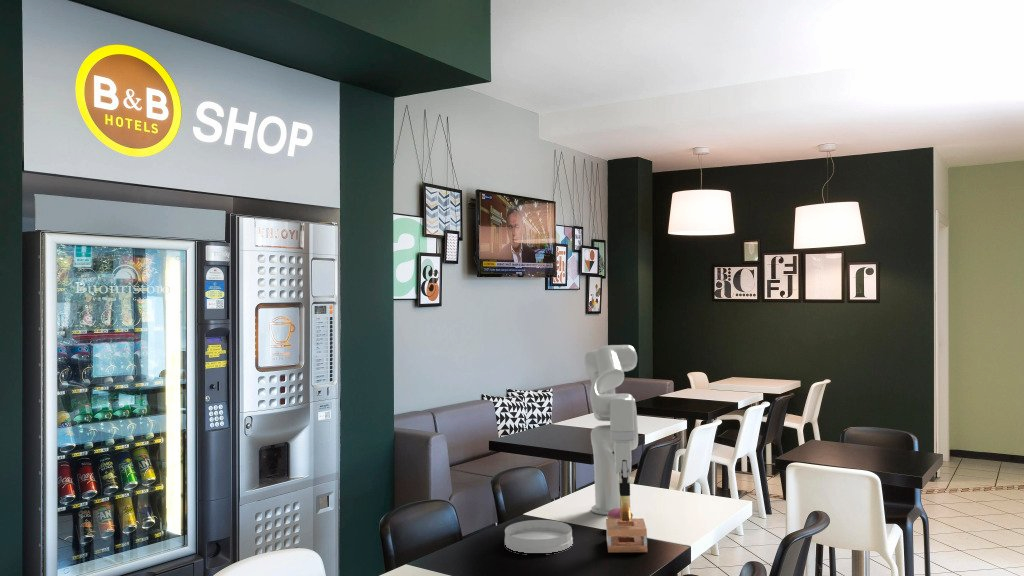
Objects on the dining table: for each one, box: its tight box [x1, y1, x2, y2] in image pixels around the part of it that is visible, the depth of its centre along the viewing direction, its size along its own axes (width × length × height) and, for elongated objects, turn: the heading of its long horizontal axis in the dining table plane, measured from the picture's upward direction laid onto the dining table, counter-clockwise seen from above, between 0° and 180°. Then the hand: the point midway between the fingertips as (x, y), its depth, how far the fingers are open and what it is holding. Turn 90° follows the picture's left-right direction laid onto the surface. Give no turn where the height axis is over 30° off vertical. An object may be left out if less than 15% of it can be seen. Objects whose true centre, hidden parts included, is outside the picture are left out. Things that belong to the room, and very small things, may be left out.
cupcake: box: [606, 508, 634, 519], centre depth 260 cm, size 9×8×12 cm
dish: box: [504, 519, 574, 553], centre depth 247 cm, size 22×22×5 cm
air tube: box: [619, 471, 632, 521], centre depth 242 cm, size 3×3×18 cm
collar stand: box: [605, 518, 648, 553], centre depth 242 cm, size 12×12×7 cm
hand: (624, 493), depth 242 cm, fingers closed on air tube, 3 cm apart
